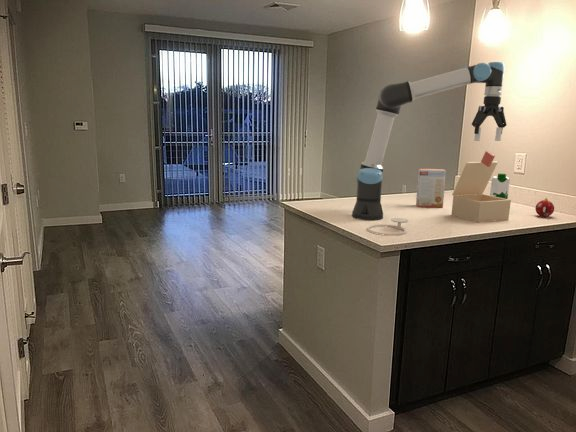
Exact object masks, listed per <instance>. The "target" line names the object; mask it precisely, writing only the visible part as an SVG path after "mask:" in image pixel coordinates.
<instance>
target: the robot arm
mask: <svg viewBox="0 0 576 432" xmlns="http://www.w3.org/2000/svg"><path fill="white" fill-rule="evenodd" d="M504 75H505V63H504V62H501V61H492V62H488V63H485V62H479V63H477V64H473V65H471V66H470V65H465V66H462V67H461V68H459V69H455V70H453V71H448V72H444V73H440V74H437V75H434V76H430V77H427V78H424V79H419V80H415V81H413V82H411V81H409V80H407V81H404V82H397V83H390V84H387V85H385V86H384V87H383V88H381V90H380V92H379V93H378V100H377V103H376V107H375V112H376V113H377V115H376V119H375V123H374V125H373V130H372V134H371V138H370V142H369V144H368V145H369V146H368V148H367V152H366V156H365V160H364V161H362V162H361V163H360V167H359V170H358V173H357V175H356V183H357V184H356V200H355V204H354V206H353V209H352V213H351V217H352V216H353V217H352V218H354V217H355V219H357V218H358V219H359V220H363V219H364V220H365V221H379V220H382V219H384V210H383V208H382V203H381V199H382V197H381V196H382V184H383V182H382V181H383V177H384V176H383V173H384V166H383V165H382V164H383V162H384V158H385V154H386V151H387V147H388V143H389V139H390V136H391V132H392V128H393V124H394V121H395V119H396V117H398V116H399V115H400V111H401V108H402V106H403V105H406V104H409V103H413V102H414V101H415V99H419V98H423V97H427V96H430V95H434V94H438V93H440V92H445V91H448V90H452V89H456V88H459V87H464V86H467V85H472V84H485V87H484V93H483V95H484V97H483V103H482V104H484V105H479V106H478V110H477V112H476V114H475V116H474V118H473V121H472V123H471V126H473V127H474V132H473V133H474V138H473V139H474V140H473V141H474V142H480V140H481V132H482V127H481V125H482V124H483V123H484V122H485V120H486V119H487V118H488V117H493V120H494V121H495V123H496V125H497V127H495V129H496V131H495V138H494V141H496V142H501V140H502V139H501V138H502V134H503V129H504V128H505V127H506V126H508V125H507V121H506V116H505V112H504V106H499V105H501V101H502V100H501V99H502V97H501V96H502V90H503V81H504V77H505V76H504Z"/></svg>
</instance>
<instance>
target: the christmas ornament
mask: <svg viewBox="0 0 576 432" xmlns="http://www.w3.org/2000/svg"><path fill="white" fill-rule="evenodd" d="M554 212H555V205H554V203H553V202H552V201H550V200H548V197H545V198H544V200H540V201H538V202H537V204H536V205H535V213H536V214H537V215H538V216H539V217H542V218H543V217H544V218H546V217H549V216H551V215H552V214H553V213H554Z"/></svg>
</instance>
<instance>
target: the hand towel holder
mask: <svg viewBox="0 0 576 432" xmlns="http://www.w3.org/2000/svg"><path fill="white" fill-rule="evenodd" d="M390 221H391V222H392V223H397V225H393V224H371V225H370V226H368V227H366V231H368V232H369V231H370V232H369V233H371V232H373V233H372V234H374V233H378V234H377V235H379V234H384V235H383V236H387V235H397V236H403V235H405V234H406V233H407V229H406V228H404V227H402V224H405V223H408V222H409V221H410V220H409V219H408V218H403V217H392V218H390ZM375 226H387V227H386V228H392V227H394V229H397V230H401V232H394V233H393V232H392V233H391V232H390V233H388V232H387V233H386V232H381V231H375V230H372V229H371V227H373V228H376V227H375ZM369 228H370V229H369ZM402 234H403V235H402Z"/></svg>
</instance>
